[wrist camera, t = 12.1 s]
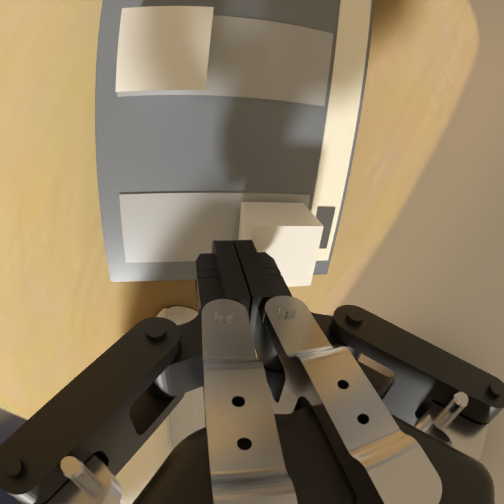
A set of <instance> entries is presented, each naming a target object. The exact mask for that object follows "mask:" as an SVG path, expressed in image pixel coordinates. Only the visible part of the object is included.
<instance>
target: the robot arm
mask: <svg viewBox="0 0 504 504" xmlns="http://www.w3.org/2000/svg"><path fill="white" fill-rule="evenodd" d="M195 293H196V302H197V310H198V315H197V316H196V317H195V318H194V319H193V320H191V321H189V322H187V323H184V324H181V325H177V324H176V323H174V322H173V321H171V320H169V319H167V318H162V317H151V318H147V319H144V320H142V321H140V322H139V323H138V324H136V325H135V326H134V327H133V328H132V329H131V330H130V331H128V332H127V333H126V334H125V335H124V336H123V337H121V338H120V339H119V340H118V341H117V342H116V343H114V344H113V345H112V346H111V347H110V348H109V349H108V350H106V351H105V352H104V353H103V354H102V355H101V356H100V357H98V358H97V359H96V360H95V361H94V362H93V363H92V364H90V365H89V366H88V367H87V368H86V369H85V370H84V371H82V372H81V373H80V374H79V375H78V376H77V377H76V378H74V379H73V380H72V381H71V382H70V383H69V384H68V385H67V386H65V387H64V388H63V389H62V390H61V391H60V392H59V393H58V394H56V395H55V396H54V397H53V398H52V399H51V400H50V401H49V402H47V403H46V404H45V405H44V406H43V407H42V408H41V409H40V410H39V411H37V412H36V413H35V414H34V415H33V416H32V417H31V418H30V419H29V420H28V421H27V422H25V423H24V424H23V425H22V426H21V427H20V428H19V429H18V430H17V431H16V432H14V433H13V434H12V435H11V436H10V437H9V438H8V439H7V440H6V441H5V442H4V443H2V444H1V445H0V488H2V489H3V490H4V491H6V492H7V493H9V494H10V495H12V496H13V497H15V498H16V499H17V500H18V501H19V502H21V503H23V504H119V503H120V500H121V497H122V489H121V486H120V483H119V481H118V480H117V479H116V477H115V476H116V475H117V474H118V473H119V472H120V471H121V469H122V468H123V467H124V466H125V465H126V464H127V463H128V462H129V460H130V459H131V458H132V457H133V456H134V455H135V454H136V452H137V451H138V450H139V449H140V448H141V447H142V446H143V444H144V443H145V442H146V441H147V440H148V439H149V438H150V436H151V435H152V434H153V433H154V432H155V431H156V429H157V428H158V427H159V426H160V425H161V424H162V422H163V421H164V420H165V419H166V418H167V417H168V415H169V414H170V413H171V412H172V411H173V409H174V408H175V407H176V406H177V405H178V403H179V402H180V401H181V400H182V399H183V397H184V395H185V393H186V392H189V391H191V390H194V389H197V388H200V387H203V400H204V419H205V427H204V428H202V429H199V430H197V431H195V432H193V433H192V434H190V435H188V436H187V437H186V438H184V439H183V440H182V441H181V442H180V443H179V444H178V445H177V446H176V447H175V448H174V449H173V450H172V451H171V453H170V454H169V455H168V457H167V458H166V460H165V461H164V462H163V464H162V465H161V466H160V468H159V469H158V470H157V472H156V473H155V474H154V476H153V477H152V478H151V480H150V481H149V482H148V484H147V485H146V486H145V487H144V489H143V490H142V491H141V493H140V494H139V495H138V497H137V498H136V499H135V500H134V502H133V503H132V504H495V501H494V485H493V480H492V477H491V475H490V473H489V472H488V470H487V469H486V468H485V466H484V465H483V464H482V463H480V462H479V461H480V457H481V454H482V450H483V446H484V442H485V438H486V433H487V428H488V424H489V422H490V421H491V420H492V419H493V418H494V417H495V416H496V415H497V414H498V413H499V412H500V411H501V410H502V409H503V408H504V383H503V382H502V381H501V380H499V379H498V378H496V377H494V376H493V375H490V374H489V373H487V372H485V371H483V370H481V369H479V368H477V367H475V366H473V365H471V364H469V363H467V362H465V361H463V360H461V359H460V358H458V357H456V356H454V355H452V354H450V353H448V352H446V351H444V350H442V349H440V348H438V347H436V346H434V345H432V344H430V343H428V342H427V341H425V340H423V339H420V338H419V337H417V336H415V335H413V334H411V333H409V332H407V331H405V330H403V329H401V328H399V327H397V326H395V325H394V324H392V323H390V322H388V321H386V320H384V319H382V318H380V317H378V316H376V315H374V314H372V313H370V312H368V311H366V310H364V309H362V308H360V307H357V306H354V305H344V306H340V307H338V308H337V309H336V310H335V312H334V315H333V316H329V315H322V314H315V313H312V312H310V311H309V309H308V308H307V306H306V305H305V304H304V303H303V302H302V301H301V300H299V299H297V298H294V297H292V295H291V293H290V291H289V289H288V287H287V285H286V283H285V281H284V279H283V276H282V275H281V272H280V270H279V269H278V266H277V264H276V262H275V260H274V259H273V258H272V257H271V256H270V255H268V254H267V253H266V252H257V250H256V248H255V246H254V243H253V241H252V240H233V241H232V240H213V243H212V253H202V254H200V255H199V256H198V258H197V260H196V261H195ZM255 350H256V353H257V357H256V353H255ZM361 353H362V354H364V355H365V356H367V357H369V358H371V359H373V360H375V361H377V362H378V363H380V364H382V365H384V366H386V367H388V368H389V369H391V370H392V371H393V372H394V373H395V376H393V377H387V376H385V375H383V374H381V373H379V372H377V371H375V370H373V369H372V368H370V367H368V366H366V365H364V364H362V363H361V362H359V361H358V359H359V357H360V355H361Z"/></svg>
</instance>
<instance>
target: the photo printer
mask: <svg viewBox="0 0 504 504" xmlns="http://www.w3.org/2000/svg"><path fill="white" fill-rule="evenodd" d="M197 315H198V312H197V311H195V310H193V309H191V308H187V307H181V306H174V307H170V308H169V309H167V308H164V309H163V310H162V311H161V312H160V313H159V314H158V315H157V316H156V317H162V318H167V319H169V320H171V321H173V322H174V323H176V324H177V325H181V324H184V323H187V322H189V321H191V320H193V319H194V318H195V317H196V316H197ZM204 427H205V419H204V400H203V387H200V388H197V389H194V390H191V391H189V392H186V393H185V395H184V397H183V399H182V400H181V401H180V402H179V403H178V405H177V406H176V407H175V408H174V409H173V411H172V412H171V413H170V414H169V415H168V417H167V418H166V419H165V420H164V421H163V422H162V424H161V425H160V426H159V427H158V428H157V429H156V431H155V432H154V433H153V434H152V435H151V436H150V438H149V439H148V440H147V441H146V442H145V443H144V444H143V446H142V447H141V448H140V449H139V450H138V451H137V452H136V454H135V455H134V456H133V457H132V458H131V459H130V460H129V462H128V463H127V464H126V465H125V466H124V467H123V468H122V469H121V471H120V472H119V473H118V474H117V475H116V479H117V480H118V481H119V483H120V486H121V489H122V497H121V500H120V503H121V504H132V503H133V502H134V500H135V499H136V498H137V497H138V495H139V494H140V493H141V491H142V490H143V489H144V487H145V486H146V485H147V484H148V482H149V481H150V480H151V478H152V477H153V476H154V474H155V473H156V472H157V470H158V469H159V468H160V466H161V465H162V464H163V462H164V461H165V460H166V458H167V457H168V455H169V454H170V453H171V451H172V450H173V449H174V448H175V447H176V446H177V445H178V444H179V443H180V442H181V441H182V440H183V439H184V438H186V437H187V436H188V435H190V434H192V433H193V432H195V431H197V430H199V429H202V428H204Z"/></svg>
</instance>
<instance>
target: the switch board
mask: <svg viewBox="0 0 504 504" xmlns="http://www.w3.org/2000/svg"><path fill="white" fill-rule="evenodd" d="M149 6H204V7H214V10H213V19H212V28H211V37H210V47H209V58H208V69H207V81H206V90H144V91H124V92H115V89H116V67H117V52H118V40H119V30H120V20H121V12H122V8H132V7H149ZM373 9H374V0H103V2H102V10H101V18H100V27H99V37H98V49H97V64H96V87H95V136H96V161H97V177H98V190H99V201H100V210H101V219H102V228H103V236H104V243H105V250H106V256H107V263H108V269H109V275H110V280H111V282H121V281H170V280H195V261H196V260H197V258H198V256H199V255H200V254H202V253H212V243H213V240H232V241H233V240H238V235H239V224H240V212H241V202H284V203H304V204H305V205H306V207H307V208H308V209H309V210H310V211H311V212H312V213H313V215H314V216H315V217H316V218H317V219H318V220H319V221H320V223H321V224H322V225H323V226H324V227H323V232H322V237H321V241H320V246H319V250H318V255H317V259H316V264H315V268H314V272H313V275H321V274H327V272H328V268H329V264H330V260H331V256H332V252H333V248H334V244H335V239H336V235H337V231H338V227H339V222H340V218H341V213H342V209H343V204H344V200H345V195H346V190H347V185H348V181H349V176H350V171H351V165H352V160H353V155H354V149H355V144H356V138H357V133H358V127H359V121H360V115H361V108H362V102H363V95H364V88H365V81H366V74H367V66H368V58H369V49H370V40H371V31H372V20H373Z"/></svg>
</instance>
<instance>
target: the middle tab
mask: <svg viewBox="0 0 504 504" xmlns="http://www.w3.org/2000/svg"><path fill="white" fill-rule="evenodd" d="M213 10H214V7H204V6H149V7H132V8H122V12H121V20H120V30H119V40H118V52H117V67H116V89H115V92H124V91H144V90H206V81H207V69H208V58H209V47H210V37H211V28H212V19H213Z"/></svg>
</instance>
